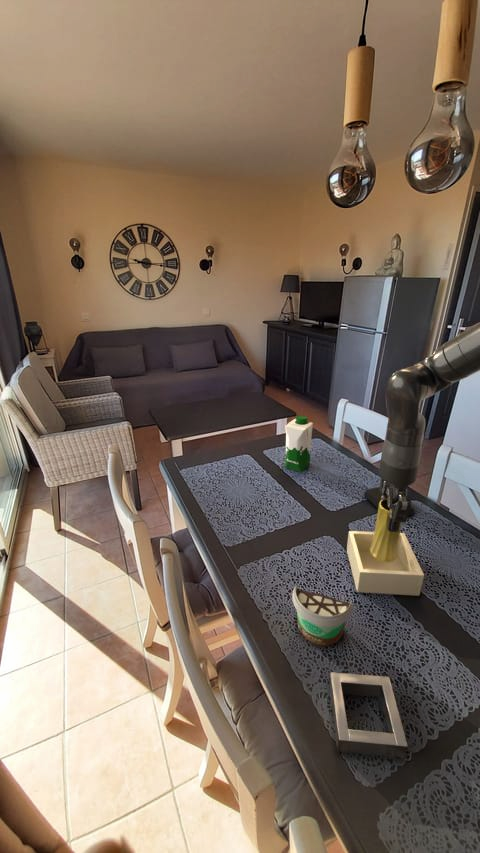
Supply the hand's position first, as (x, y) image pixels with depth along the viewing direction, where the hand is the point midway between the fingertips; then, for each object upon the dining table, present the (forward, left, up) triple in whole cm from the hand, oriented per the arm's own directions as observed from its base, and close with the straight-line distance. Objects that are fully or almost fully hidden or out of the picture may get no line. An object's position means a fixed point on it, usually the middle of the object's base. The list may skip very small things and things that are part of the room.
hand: (388, 522), depth 84 cm
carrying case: (-9, -28, -16) cm, 34 cm away
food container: (+17, +19, -16) cm, 30 cm away
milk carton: (+18, -51, -16) cm, 56 cm away
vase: (0, 0, -10) cm, 10 cm away
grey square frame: (+11, +33, -16) cm, 38 cm away
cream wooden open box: (0, 0, -16) cm, 16 cm away
